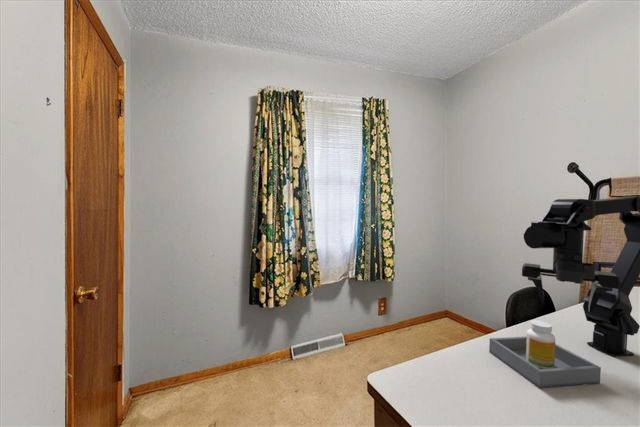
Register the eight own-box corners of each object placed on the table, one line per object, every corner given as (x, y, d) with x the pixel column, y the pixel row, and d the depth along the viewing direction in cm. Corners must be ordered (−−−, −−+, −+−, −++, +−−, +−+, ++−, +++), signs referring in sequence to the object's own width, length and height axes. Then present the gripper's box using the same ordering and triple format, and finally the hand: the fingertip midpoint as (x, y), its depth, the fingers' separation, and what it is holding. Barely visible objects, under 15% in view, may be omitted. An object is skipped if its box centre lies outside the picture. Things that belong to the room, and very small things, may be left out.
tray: (539, 349, 75) (539, 335, 75) (599, 383, 61) (600, 367, 61) (489, 351, 74) (489, 338, 73) (539, 388, 59) (540, 371, 59)
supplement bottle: (559, 371, 64) (561, 329, 64) (533, 368, 65) (534, 327, 65) (545, 358, 69) (547, 319, 69) (521, 356, 70) (522, 318, 70)
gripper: (522, 248, 72) (520, 308, 72) (629, 257, 61) (625, 328, 61) (523, 243, 81) (521, 297, 81) (617, 250, 69) (614, 312, 70)
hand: (565, 307), depth 73 cm, fingers open, 9 cm apart
